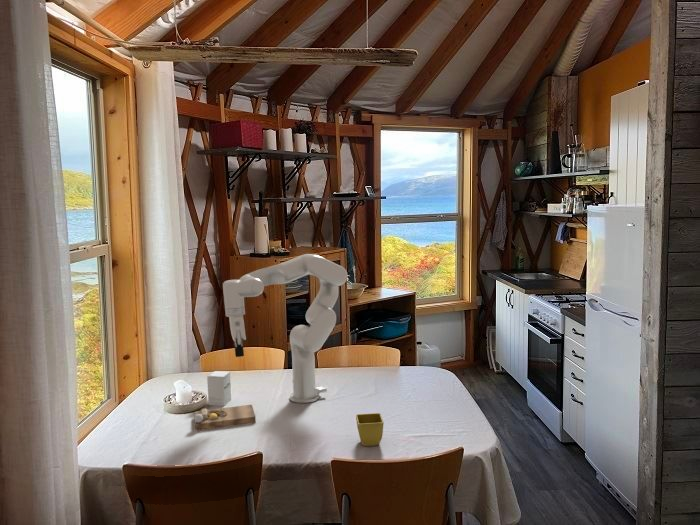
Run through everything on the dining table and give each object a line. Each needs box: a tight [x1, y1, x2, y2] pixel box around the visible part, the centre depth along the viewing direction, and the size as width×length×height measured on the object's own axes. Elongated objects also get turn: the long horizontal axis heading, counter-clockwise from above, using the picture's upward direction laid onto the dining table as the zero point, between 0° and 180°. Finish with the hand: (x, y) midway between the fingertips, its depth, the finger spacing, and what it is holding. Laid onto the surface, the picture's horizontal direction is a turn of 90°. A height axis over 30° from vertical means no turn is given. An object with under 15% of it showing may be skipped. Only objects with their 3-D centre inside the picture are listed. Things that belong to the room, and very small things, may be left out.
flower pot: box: [355, 412, 384, 447], centre depth 187 cm, size 9×9×9 cm
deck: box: [194, 404, 257, 431], centre depth 210 cm, size 22×13×4 cm, turn 106°
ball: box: [209, 413, 217, 418], centre depth 209 cm, size 3×3×3 cm
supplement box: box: [206, 370, 232, 407], centre depth 228 cm, size 7×7×13 cm
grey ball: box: [193, 414, 203, 423], centre depth 202 cm, size 3×3×3 cm
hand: (239, 355), depth 215 cm, fingers closed
